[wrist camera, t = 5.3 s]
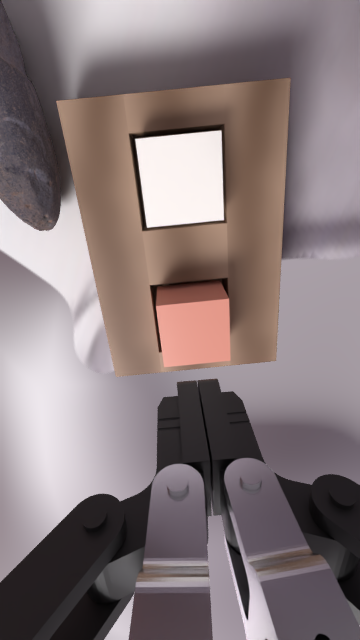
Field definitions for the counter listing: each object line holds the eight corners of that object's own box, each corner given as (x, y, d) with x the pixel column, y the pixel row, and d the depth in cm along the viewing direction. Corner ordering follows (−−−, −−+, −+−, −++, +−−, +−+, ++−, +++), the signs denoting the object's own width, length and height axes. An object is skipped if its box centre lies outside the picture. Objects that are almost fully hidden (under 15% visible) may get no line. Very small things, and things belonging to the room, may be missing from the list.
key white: (212, 137, 22) (221, 130, 18) (215, 212, 24) (223, 220, 20) (140, 144, 22) (135, 138, 18) (149, 219, 24) (146, 227, 20)
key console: (270, 92, 22) (290, 77, 19) (263, 338, 31) (276, 360, 27) (73, 112, 22) (56, 100, 19) (121, 352, 31) (115, 376, 27)
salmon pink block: (219, 280, 25) (228, 298, 21) (221, 335, 27) (230, 360, 23) (157, 286, 25) (156, 306, 21) (164, 341, 27) (164, 367, 23)
